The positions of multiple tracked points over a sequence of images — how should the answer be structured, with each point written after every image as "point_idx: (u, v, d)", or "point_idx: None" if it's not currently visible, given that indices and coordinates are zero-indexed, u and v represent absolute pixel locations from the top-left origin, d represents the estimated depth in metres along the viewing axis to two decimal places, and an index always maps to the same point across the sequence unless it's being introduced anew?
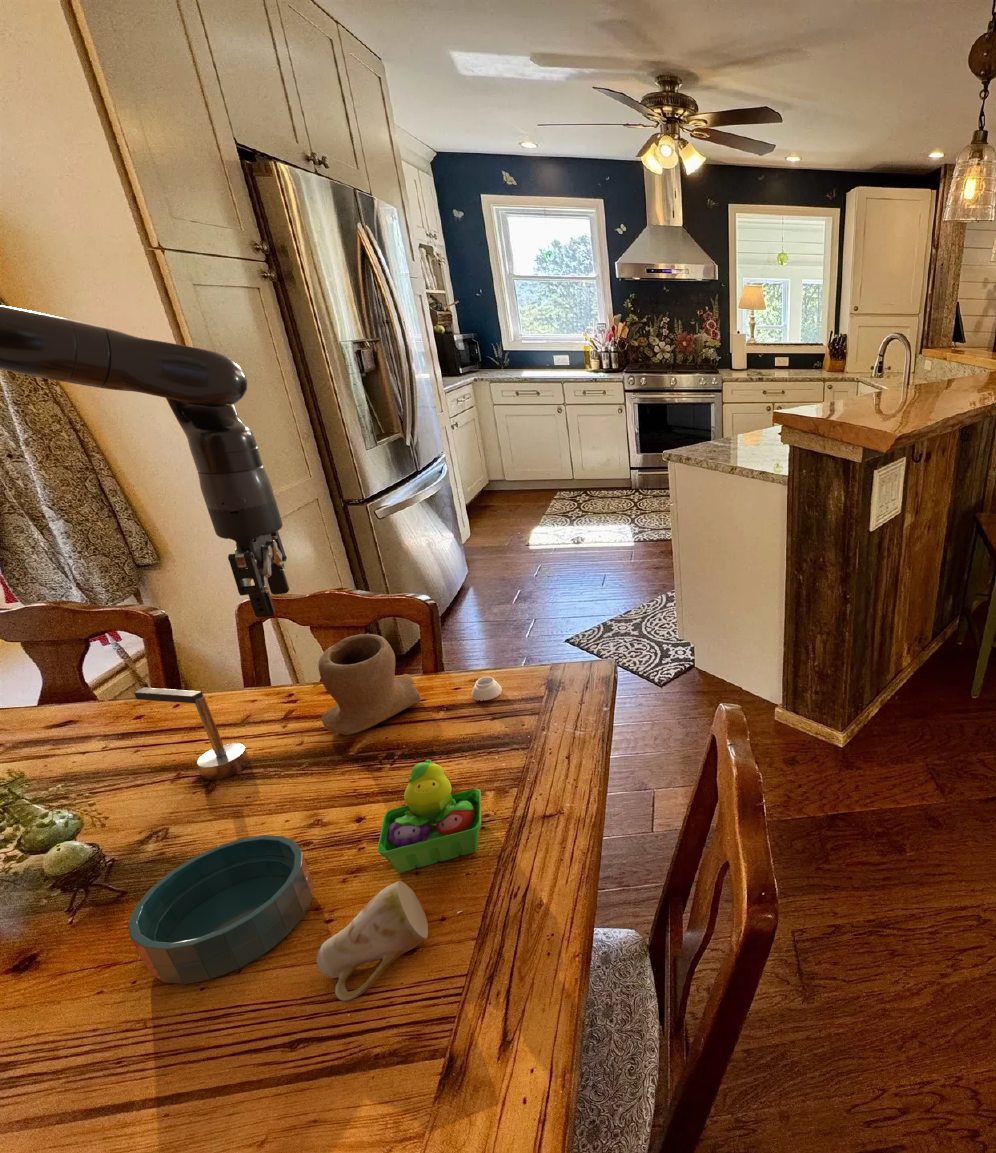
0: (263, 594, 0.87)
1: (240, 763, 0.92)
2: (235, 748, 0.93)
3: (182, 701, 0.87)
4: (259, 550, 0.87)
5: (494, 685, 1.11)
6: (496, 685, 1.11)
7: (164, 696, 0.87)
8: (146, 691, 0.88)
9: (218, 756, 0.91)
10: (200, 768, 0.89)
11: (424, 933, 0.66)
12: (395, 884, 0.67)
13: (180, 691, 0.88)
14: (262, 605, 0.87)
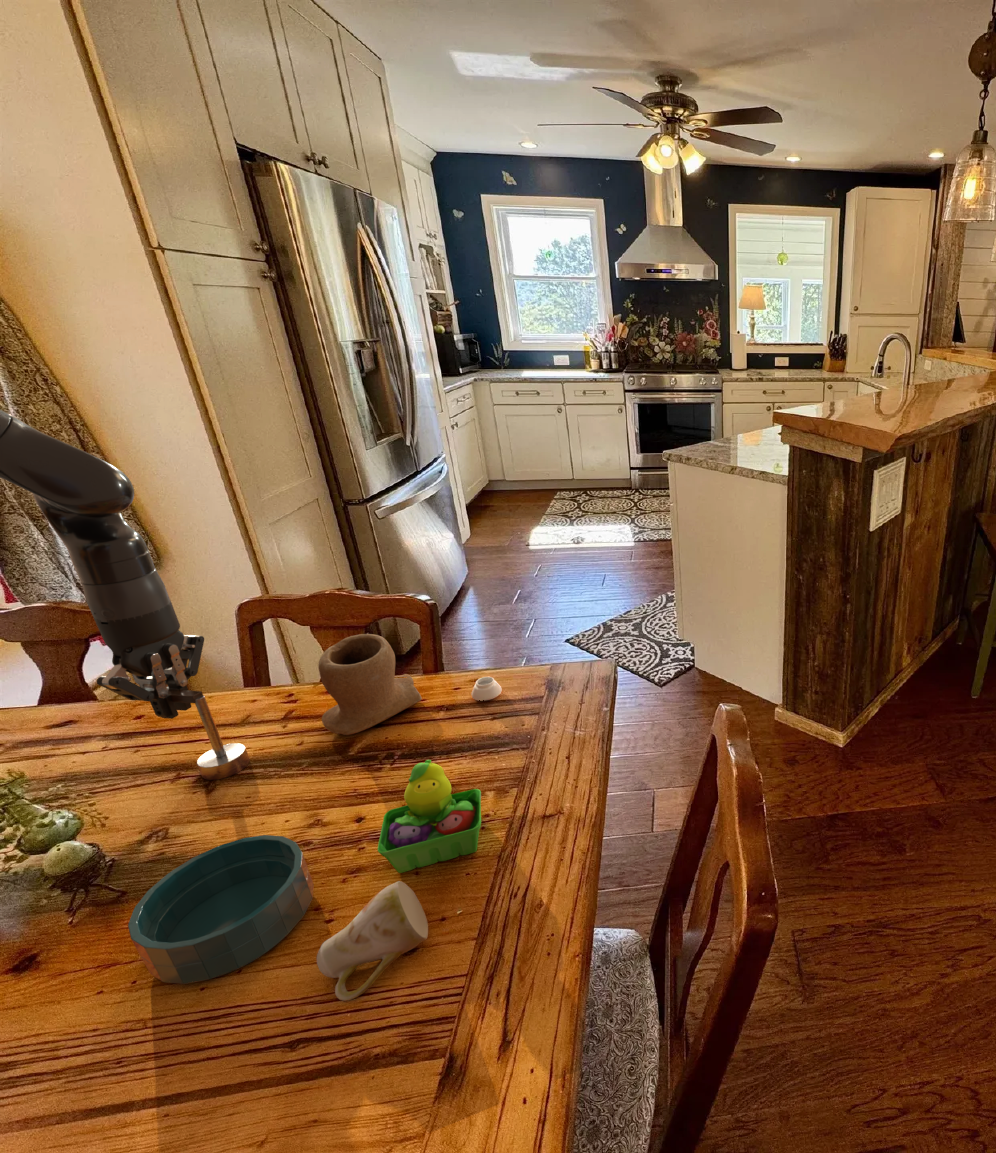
0: (160, 699, 0.86)
1: (240, 763, 0.92)
2: (235, 748, 0.93)
3: (182, 701, 0.87)
4: (137, 659, 0.82)
5: (494, 685, 1.11)
6: (496, 685, 1.11)
7: None
8: None
9: (218, 756, 0.91)
10: (200, 768, 0.89)
11: (424, 933, 0.66)
12: (395, 884, 0.67)
13: (180, 691, 0.88)
14: (159, 709, 0.86)
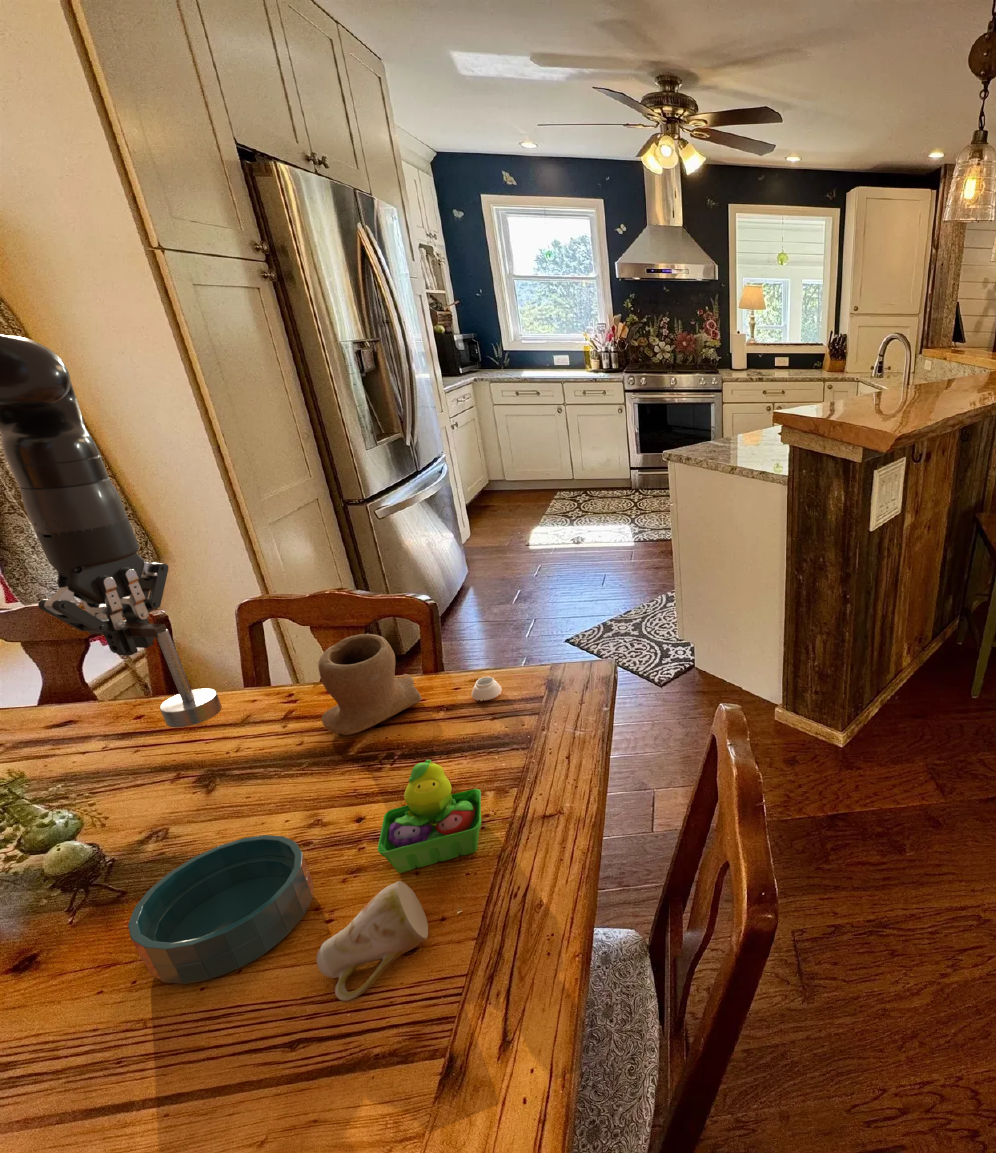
0: (116, 631, 0.75)
1: (210, 709, 0.81)
2: (205, 693, 0.82)
3: (142, 635, 0.76)
4: (88, 582, 0.71)
5: (494, 685, 1.11)
6: (496, 685, 1.11)
7: None
8: None
9: (185, 701, 0.80)
10: (163, 713, 0.78)
11: (424, 933, 0.66)
12: (395, 884, 0.67)
13: (140, 624, 0.77)
14: (115, 643, 0.75)
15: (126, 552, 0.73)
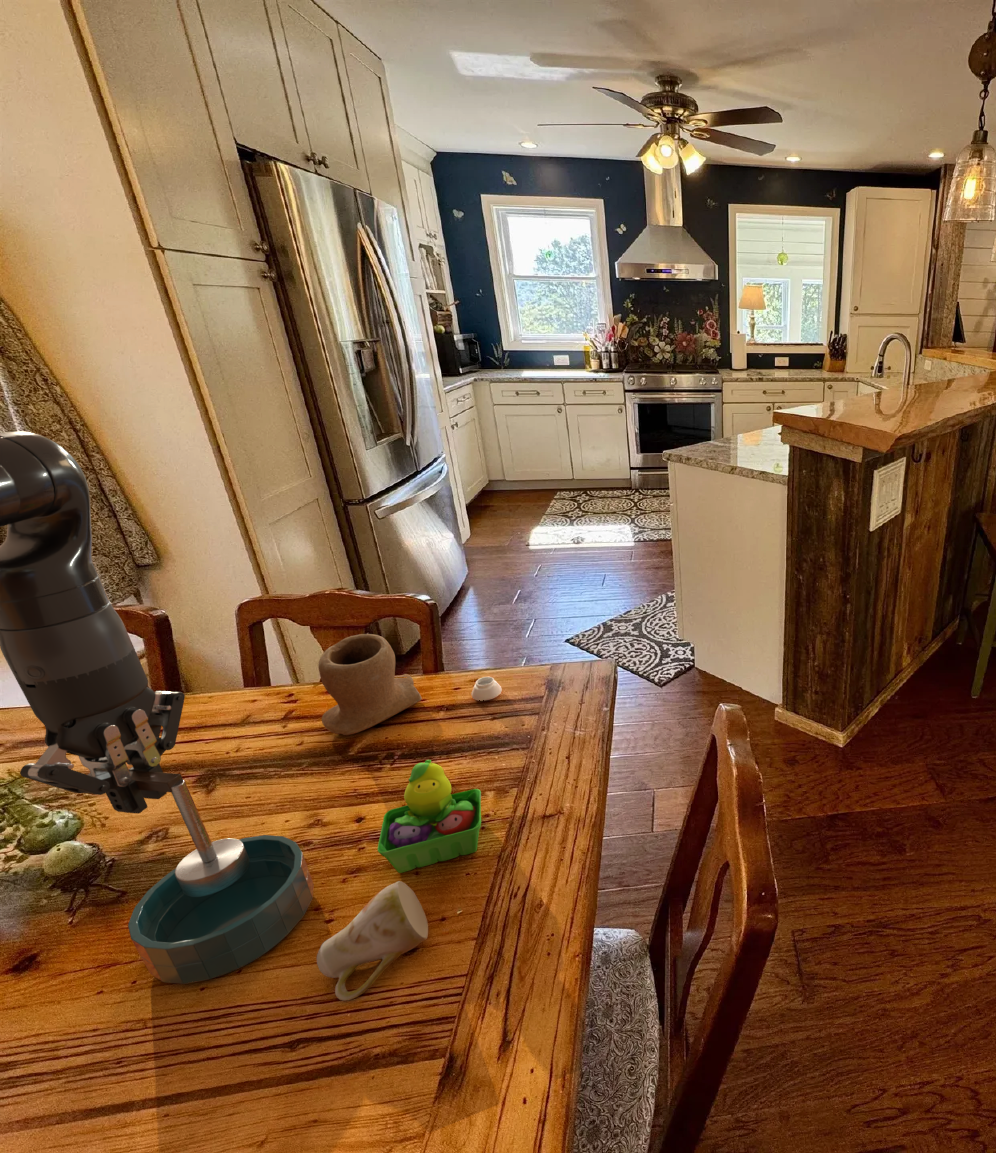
0: (120, 787, 0.60)
1: (236, 870, 0.65)
2: (229, 847, 0.67)
3: (153, 789, 0.61)
4: (84, 735, 0.56)
5: (494, 685, 1.11)
6: (496, 685, 1.11)
7: None
8: None
9: (205, 861, 0.65)
10: (180, 881, 0.63)
11: (424, 933, 0.66)
12: (395, 884, 0.67)
13: (150, 774, 0.62)
14: (119, 802, 0.60)
15: (132, 694, 0.58)
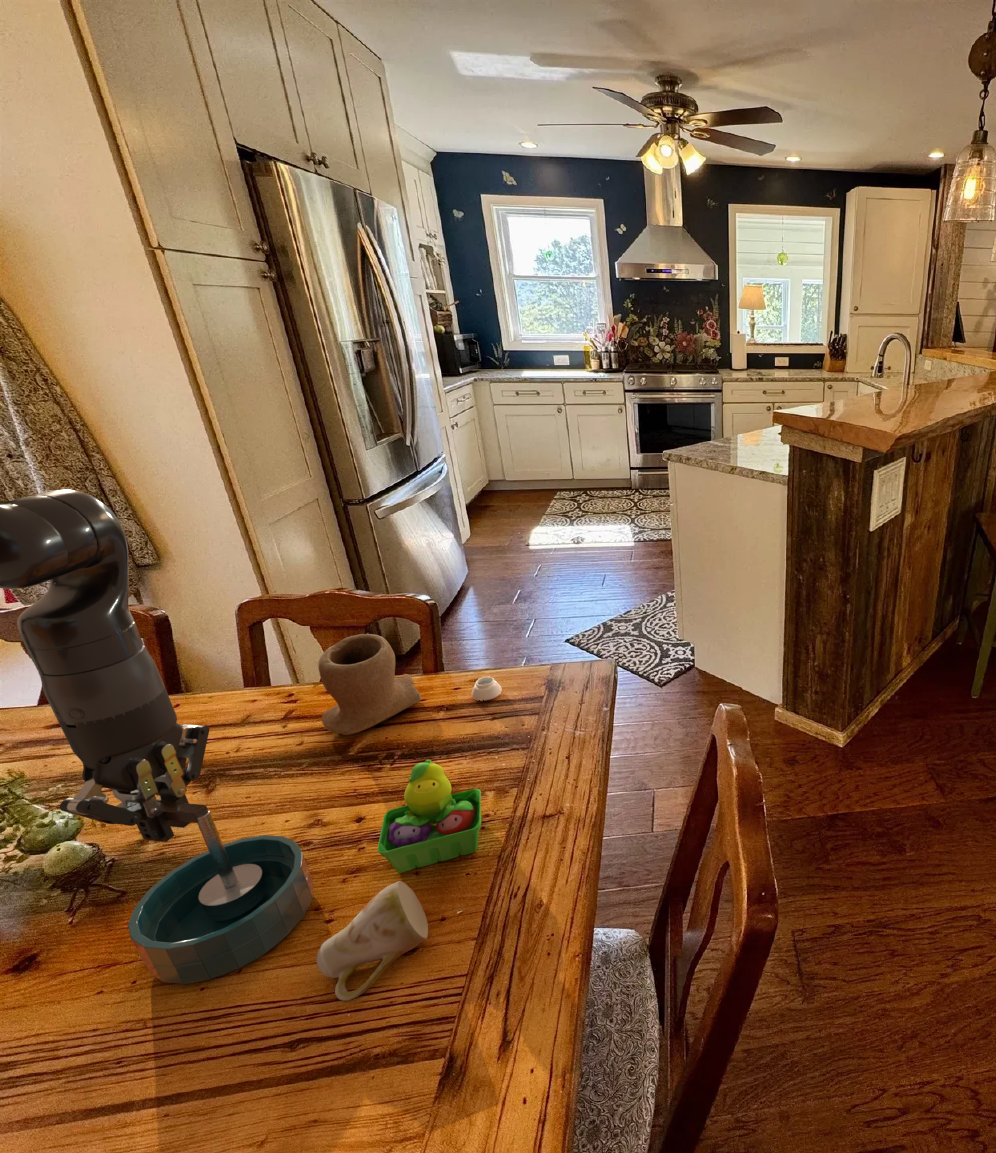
0: (150, 818, 0.63)
1: (256, 895, 0.69)
2: (249, 872, 0.70)
3: (180, 819, 0.65)
4: (118, 771, 0.60)
5: (494, 685, 1.11)
6: (496, 685, 1.11)
7: None
8: None
9: (227, 887, 0.68)
10: (203, 906, 0.67)
11: (424, 933, 0.66)
12: (395, 884, 0.67)
13: (177, 805, 0.65)
14: (148, 831, 0.64)
15: (163, 731, 0.61)
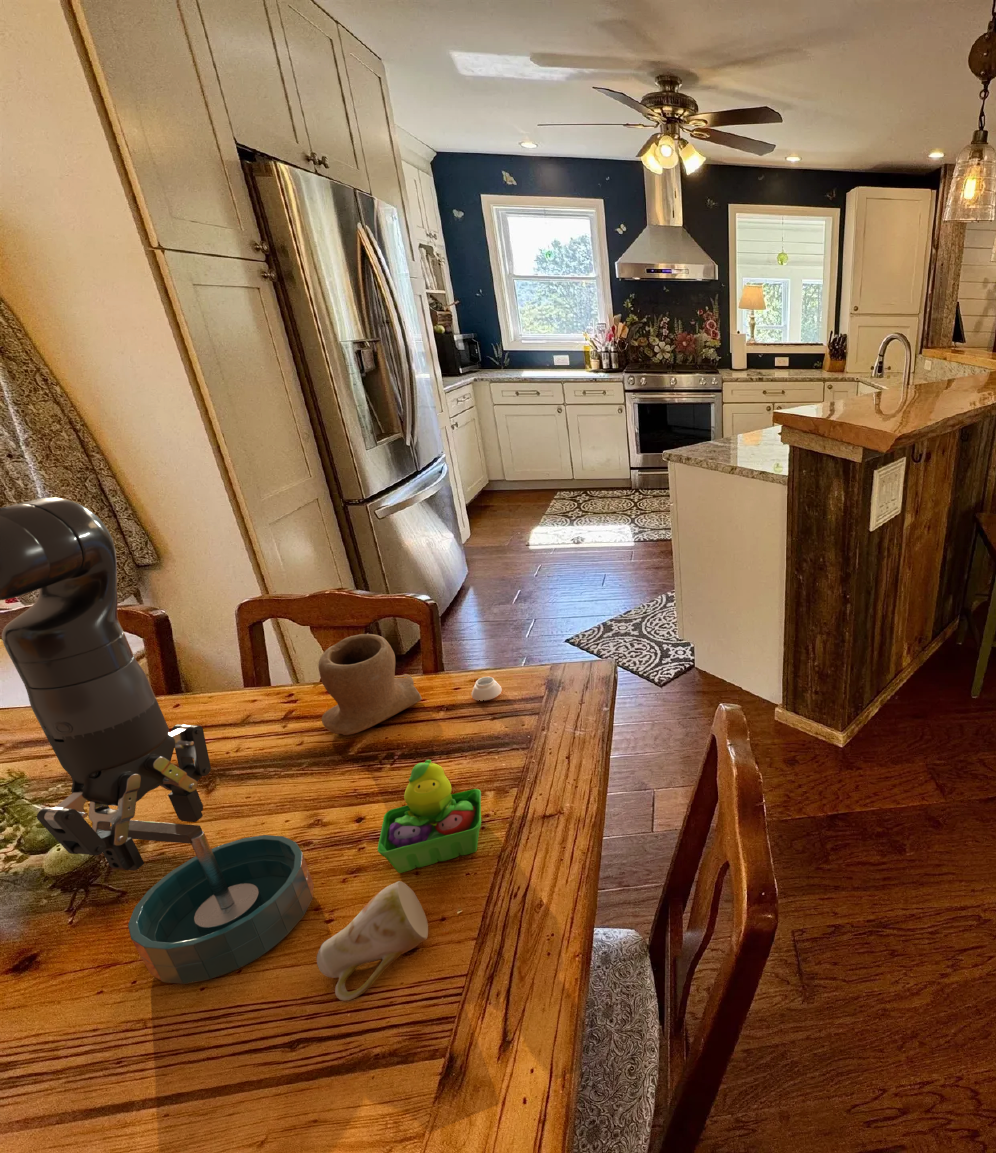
0: (117, 846, 0.60)
1: None
2: (245, 892, 0.69)
3: (173, 841, 0.63)
4: (108, 785, 0.58)
5: (494, 685, 1.11)
6: (496, 685, 1.11)
7: (149, 834, 0.63)
8: None
9: (223, 907, 0.67)
10: (198, 927, 0.66)
11: (424, 933, 0.66)
12: (395, 884, 0.67)
13: (171, 826, 0.64)
14: (116, 860, 0.60)
15: (154, 744, 0.60)
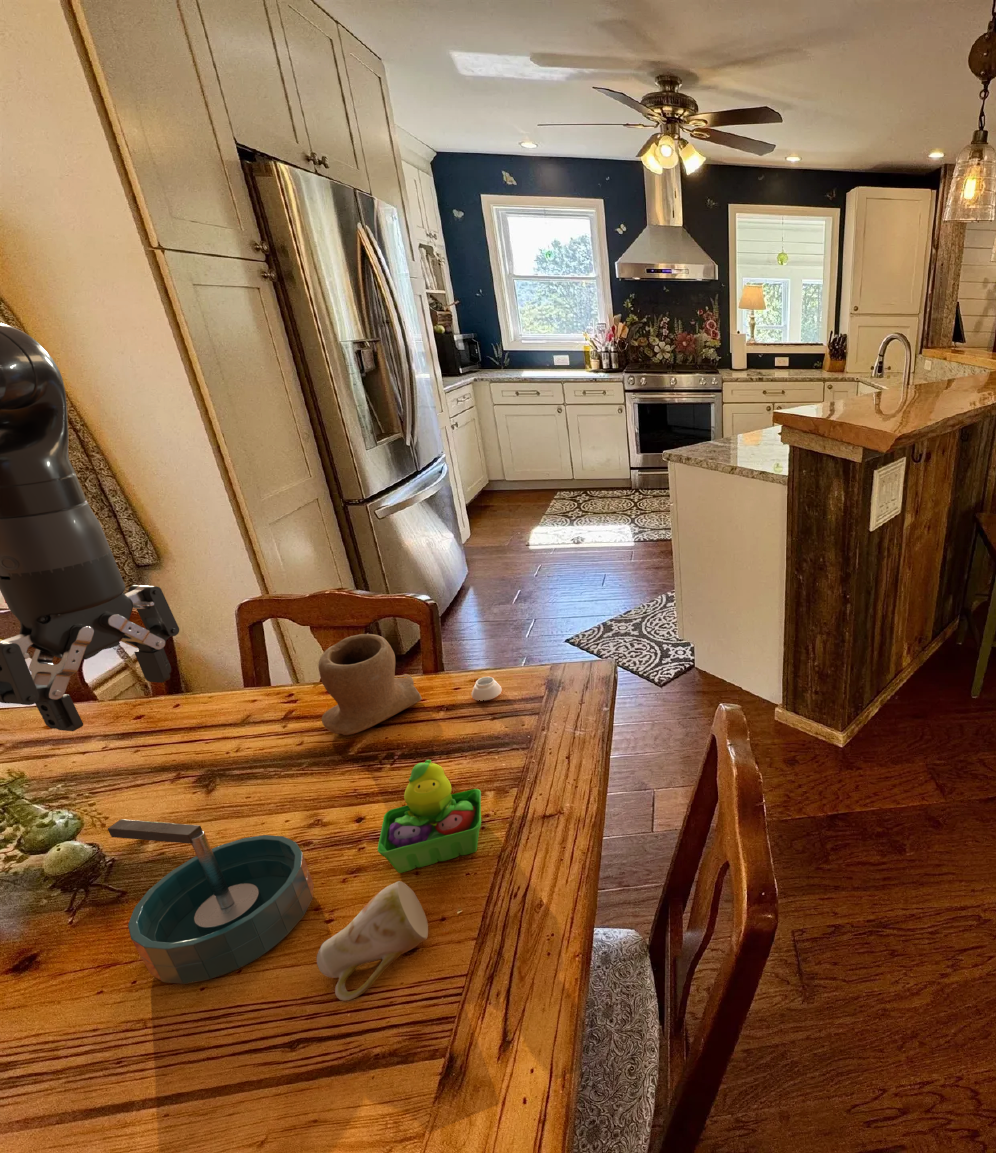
0: (52, 701, 0.56)
1: None
2: (246, 892, 0.69)
3: (174, 841, 0.63)
4: (59, 633, 0.56)
5: (494, 685, 1.11)
6: (496, 685, 1.11)
7: (149, 834, 0.63)
8: (124, 826, 0.64)
9: (223, 907, 0.67)
10: (198, 927, 0.66)
11: (424, 933, 0.66)
12: (395, 884, 0.67)
13: (171, 826, 0.64)
14: (51, 716, 0.57)
15: (108, 595, 0.58)
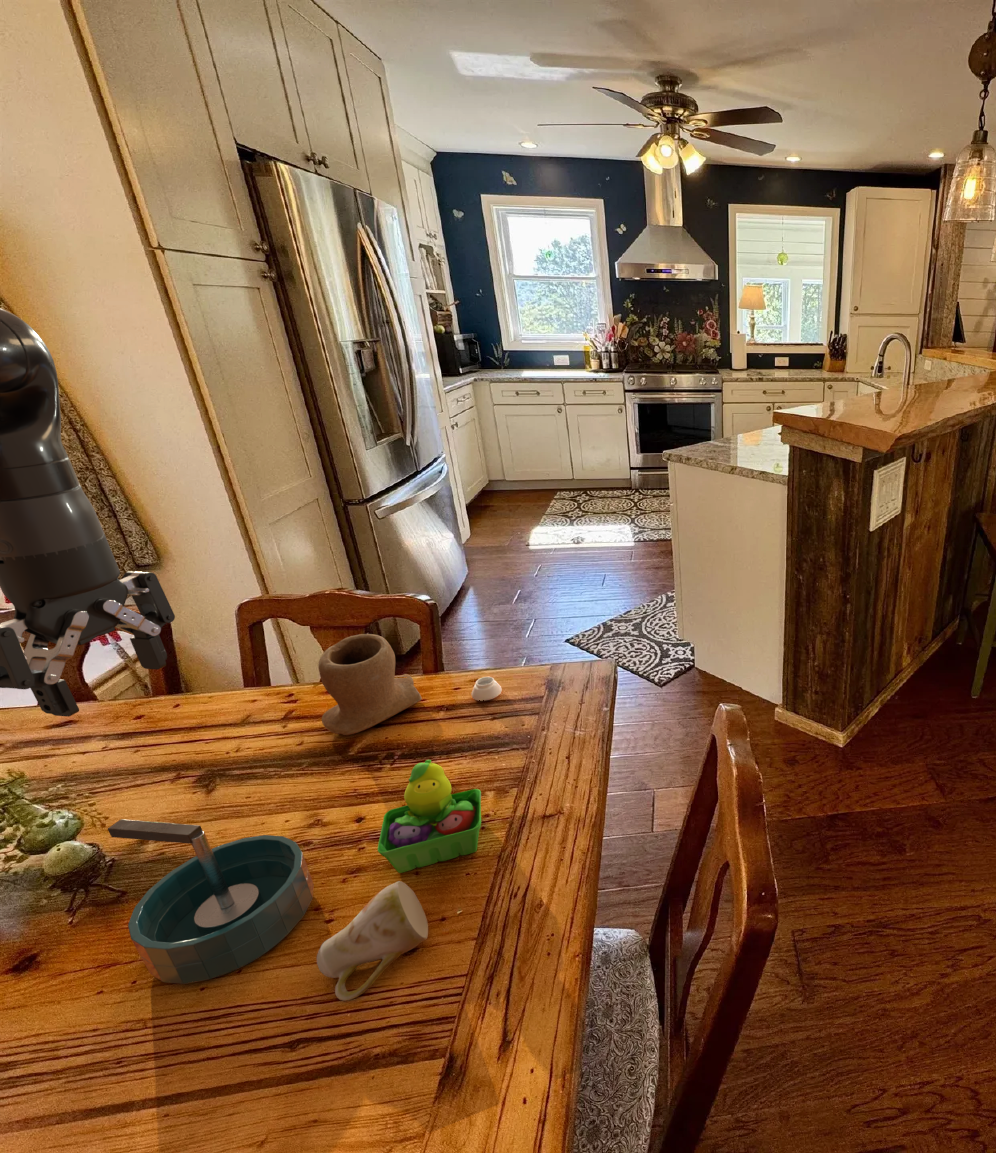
0: (48, 686, 0.56)
1: None
2: (246, 892, 0.69)
3: (174, 841, 0.63)
4: (53, 618, 0.56)
5: (494, 685, 1.11)
6: (496, 685, 1.11)
7: (149, 834, 0.63)
8: (124, 826, 0.64)
9: (223, 907, 0.67)
10: (198, 927, 0.66)
11: (424, 933, 0.66)
12: (395, 884, 0.67)
13: (171, 826, 0.64)
14: (47, 701, 0.57)
15: (102, 580, 0.58)
